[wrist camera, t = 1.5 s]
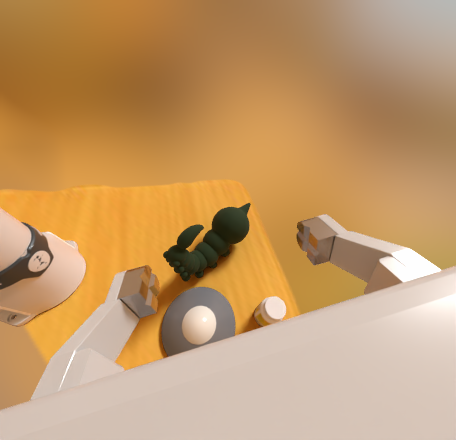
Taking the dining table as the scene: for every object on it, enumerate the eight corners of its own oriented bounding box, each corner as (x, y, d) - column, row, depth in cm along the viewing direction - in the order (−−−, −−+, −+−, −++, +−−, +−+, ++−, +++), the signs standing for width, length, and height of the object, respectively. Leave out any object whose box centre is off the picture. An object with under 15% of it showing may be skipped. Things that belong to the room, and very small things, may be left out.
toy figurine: (197, 297, 43) (259, 229, 54) (182, 273, 27) (274, 183, 38) (171, 270, 46) (234, 211, 57) (145, 236, 30) (239, 162, 41)
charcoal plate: (152, 366, 34) (150, 367, 33) (173, 284, 43) (172, 283, 42) (232, 374, 34) (233, 375, 33) (236, 291, 43) (237, 290, 42)
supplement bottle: (276, 328, 39) (290, 322, 32) (255, 328, 39) (264, 322, 32) (273, 304, 42) (285, 294, 35) (253, 303, 42) (261, 294, 35)
